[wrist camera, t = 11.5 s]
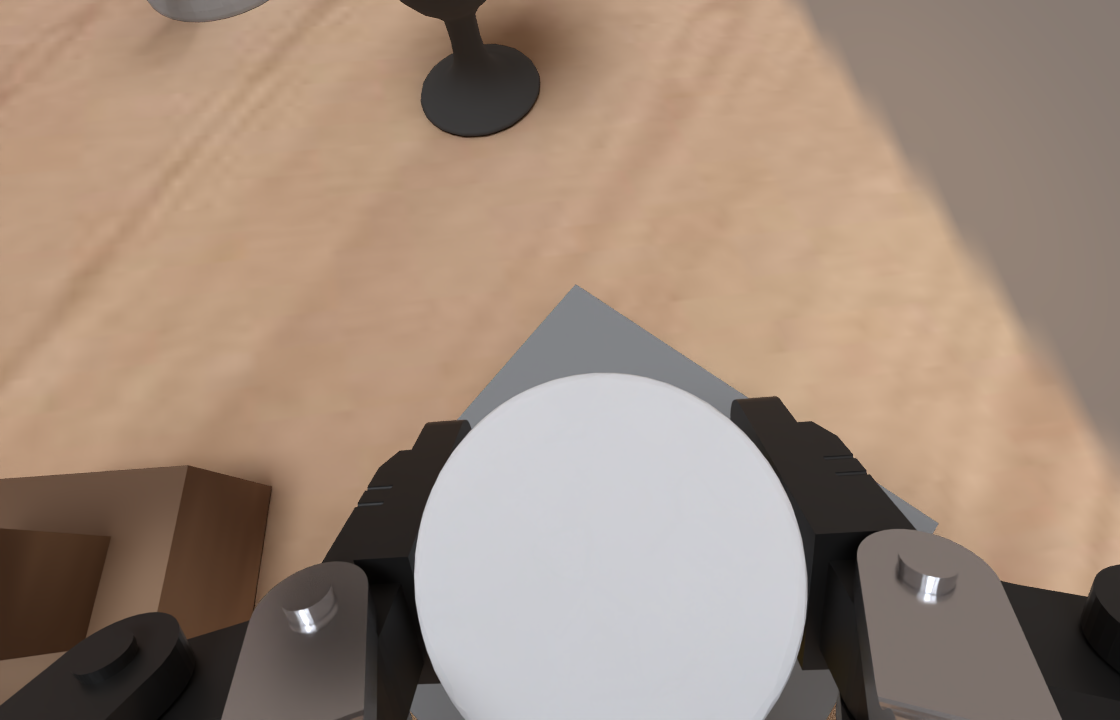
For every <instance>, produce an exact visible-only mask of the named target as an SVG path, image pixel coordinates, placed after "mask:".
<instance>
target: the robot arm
mask: <svg viewBox="0 0 1120 720" xmlns="http://www.w3.org/2000/svg"><path fill="white" fill-rule="evenodd" d="M730 420H731V421H732V422H733V423H734V424H735V425H737V426H738V427H739V428H740V429H741V430H742V431H743V432H744V433H745V434H746V435H747V436H748V437H749V439H750V440H751V441H752V442H753V443H754V444H755V445H756V447H757V448H758V449H759V450H760V452H761V453H762V454H763V456H764V457H765V458H766V459H767V461H768V462H769V464H770V465H771V467H772V469H773V470H774V472H775V473H776V475H777V477H778V478H779V480H780V482H781V484H782V486H783V488H784V490H785V492H786V494H787V496H788V498H789V501H790V503H791V505H792V508H793V511H794V514H795V517H796V520H797V523H798V527H799V530H800V534H801V537H802V542H803V548H804V555H805V561H806V569H807V610H806V620H805V626H804V632H803V637H802V641H801V645H800V649H799V652H798V656H797V659H798V662H799V664H800V666H801V669H802V670H828V669H829V670H830V672H831V674H832V677H833V679H834V681H835V683H836V685H837V687H838V695H837V703H836V720H1120V565H1115V566H1110V567H1108V568H1105V569H1103V570H1101V571H1100V572H1099V573H1098V574H1097V575H1096V577H1095V579H1094V582H1093V584H1092V587H1091V590H1090V593H1089V595H1088V597H1086V596H1080V595H1074V594H1068V593H1063V592H1057V591H1051V590H1045V589H1039V588H1034V587H1028V586H1022V585H1017V584H1012V583H1007V582H1003V581H1000V580H999V578H998V576H997V575H996V573H995V572H994V571H993V570H992V569H991V567H990V566H989V565H988V564H986V563H985V562H984V561H983V560H982V559H981V558H980V557H978V556H977V555H975V554H974V553H973V552H971V551H970V550H968V549H966V548H964V547H963V546H961V545H959V544H957V543H955V542H953V541H951V540H948V539H945V538H943V537H940V536H937V535H934V534H930V533H927V532H922V531H917V530H916V528H915V527H914V526H913V525H912V524H911V523H910V521H909V520H908V519H907V518H906V517H905V515H904V514H903V513H902V512H901V511H900V510H899V508H898V507H897V506H896V505H895V504H894V502H893V501H892V500H891V499H890V498H889V497H888V495H887V494H886V493H885V492H884V491H883V489H882V488H881V487H880V486H879V485H878V484H877V482H876V481H875V480H874V479H873V478H872V476H871V475H870V474H869V475H867V473H866V469H865V468H864V467H863V466H862V465H861V463H860V462H859V461H858V460H857V459H856V458H853V454H852V453H851V452H850V450H849V449H848V448H847V447H846V446H845V445H844V443H843V442H842V441H841V440H840V439H839V437H838V436H836V435H835V434H833V433H831V432H829V431H828V430H826V429H824V428H822V427H821V426H819V425H817V424H816V423H814V422H812V421H809V422H797V421H796V420H795V419H794V417H793V416H792V415H791V413H790V412H789V411H788V409H787V408H786V407H785V405H784V404H783V403H782V401H781V400H780V399H779V398H778V397H776V396H773V397H760V398H747V399H734V400H733V401H732V404H731V412H730ZM471 430H472V429H471V426H470V423H469V422H468V420H453V421H440V422H428V423H426V424H425V426H424V428H423V429H422V431H421V433H420V435H419V437H418V439H417V441H416V443H415V444H414V446H413V448H412V450H404V451H399V452H398V453H396V454H395V455H394V456H393V457H392V458H390V459H389V460H388V461H387V462H385V463H384V464H383V465H382V466H381V467H379V469H378V470H377V472H376V474H375V475H374V477H373V479H372V480H371V482H370V484H369V485H368V490H367V491H365V492H364V494H363V495H362V497H361V499H360V500H359V502H358V507H355V508H354V510H353V512H352V513H351V515H350V517H349V518H348V520H347V522H346V523H345V525H344V527H343V528H342V530H341V532H340V533H339V535H338V537H337V538H336V540H335V542H334V543H333V545H332V547H331V548H330V550H329V552H328V553H327V555H326V557H325V558H324V560H323V562H322V563H321V564H317V565H314V566H311V567H308V568H305V569H303V570H301V571H298V572H296V573H295V574H293V575H291V576H289V577H287V578H286V579H284V580H283V581H281V582H280V583H279V584H277V585H276V586H275V587H274V588H272V589H271V590H270V591H269V592H268V593H267V594H266V595H265V596H264V597H263V598H262V600H261V601H260V602H259V603H258V605H257V606H256V608H255V610H254V611H253V613H252V616H251V618H250V620H249V621H246V622H243V623H239V624H236V625H233V626H230V627H226V628H223V629H220V630H216V631H213V632H210V633H207V634H203V635H200V636H197V637H193V638H190V639H187V638H186V636H185V634H184V632H183V631H182V629H181V627H180V625H179V623H178V621H177V619H176V618H175V617H173V616H172V615H170V614H167V613H162V612H149V613H143V614H138V615H135V616H131V617H128V618H125V619H122V620H120V621H117V622H115V623H113V624H111V625H108V626H106V627H104V628H102V629H101V630H99V631H97V632H95V633H93V634H92V635H90V636H89V637H87V638H85V639H84V640H82V641H81V642H79V643H78V644H77V645H75V646H74V647H73V648H71V649H70V650H69V651H67V652H66V653H65V654H64V655H62V656H61V657H60V658H59V659H57V660H56V661H55V662H54V663H52V664H51V665H50V666H49V667H47V668H46V669H45V670H44V671H42V672H41V673H40V674H39V675H37V676H36V677H35V678H34V679H33V680H31V681H30V682H29V683H28V684H26V685H25V686H24V687H23V688H21V689H20V690H19V691H18V692H16V693H15V694H14V695H13V696H11V697H10V698H9V699H8V700H6V701H5V702H4V703H3V704H1V705H0V720H412V717H411V714H410V709H411V705H412V702H413V698H414V695H415V692H416V688H417V685H418V684H441V682H440V680H439V678H438V676H437V675H436V673H435V671H434V668H433V666H432V663H431V660H430V658H429V655H428V653H427V650H426V647H425V643H424V640H423V636H422V632H421V628H420V623H419V619H418V613H417V607H416V601H415V584H414V569H415V552H416V545H417V539H418V533H419V528H420V524H421V520H422V516H423V512H424V509H425V506H426V503H427V500H428V498H429V495H430V493H431V490H432V488H433V486H434V484H435V482H436V480H437V478H438V476H439V473H440V471H441V470H442V468H443V467H444V465H445V463H446V462H447V460H448V459H449V457H450V455H451V454H452V452H453V451H454V450H455V448H456V447H457V446H458V445H459V444H460V442H461V441H462V440H463V439H464V438H465V436H466V435H467V434H468V433H469V432H470V431H471Z"/></svg>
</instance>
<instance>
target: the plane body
mask: <svg viewBox="0 0 1120 720" xmlns="http://www.w3.org/2000/svg"><path fill="white" fill-rule="evenodd" d="M270 493H271V486H267V485H263V484H259V483H255V482H251V481H247V480H244V479H240V478H236V477H232V476H228V475H224V474H220V473H216V472H212V471H208V470H204V469H200V468H196V467H192V466H188V465H187V466H173V467H159V468H146V469H132V470H118V471H105V472H91V473H77V474H63V475H50V476H36V477H22V478H9V479H0V705H1V704H3V703H4V702H5V701H6V700H8V699H9V698H10V697H11V696H13V695H14V694H15V693H16V692H18V691H19V690H20V689H21V688H23V687H24V686H25V685H26V684H28V683H29V682H30V681H31V680H33V679H34V678H35V677H36V676H37V675H39V674H40V673H41V672H42V671H44V670H45V669H46V668H47V667H49V666H50V665H51V664H52V663H54V662H55V661H56V660H57V659H59V658H60V657H61V656H62V655H64V654H65V653H66V652H67V651H69V650H70V649H71V648H73V647H74V646H75V645H77V644H78V643H79V642H81V641H82V640H84V639H85V638H87V637H89V636H90V635H92V634H93V633H95V632H97V631H99V630H101V629H102V628H104V627H106V626H108V625H111V624H113V623H115V622H117V621H120V620H122V619H125V618H128V617H131V616H135V615H138V614H143V613H149V612H162V613H167V614H170V615H172V616H173V617H175V618H176V619H177V621H178V623H179V625H180V627H181V629H182V631H183V632H184V634H185V636H186V638H187V639H190V638H193V637H197V636H200V635H203V634H207V633H210V632H213V631H216V630H220V629H223V628H226V627H230V626H233V625H236V624H239V623H243V622H246V621H249V620H250V618H251V616H252V613H253V607H254V600H255V594H256V587H257V580H258V574H259V567H260V560H261V554H262V547H263V540H264V534H265V527H266V520H267V513H268V507H269V500H270Z"/></svg>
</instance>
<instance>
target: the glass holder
mask: <svg viewBox="0 0 1120 720" xmlns="http://www.w3.org/2000/svg"><path fill="white" fill-rule="evenodd" d="M147 1H148V2H149V3H150V5H151V6H152V7H153V8H154V9H155V10H156V11H158V12H159V13H160V14H162V15H164V16H166V17H169V18H171V19H175V20H180V21H185V22H205V21H215V20H219V19H224V18H228V17H232V16H235V15H238V14H241V13H244V12H246V11H248V10H251V9H253V8H255V7H257V6H259V5H261V4H263V3H265V2H266V1H268V0H147Z"/></svg>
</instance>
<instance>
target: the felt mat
mask: <svg viewBox="0 0 1120 720" xmlns="http://www.w3.org/2000/svg"><path fill="white" fill-rule="evenodd" d="M588 373H623V374H631V375H637V376H642V377H647V378H651V379H654V380H658V381H661V382H665V383H668V384H671V385H673V386H675V387H677V388H680V389H682V390H684V391H686V392H688V393H690V394H692V395H694V396H696V397H698V398H700V399H702V400H703V401H705V402H707V403H709V404H710V405H711V406H713V407H714V408H716V409H717V410H718V411H720V412H721V413H722V414H724V415H725V416H726V417H727V418H729V419H730V412H731V404H732V401H733V400H734V399H747V397H746V396H744V395H743V394H741V393H740V392H738V391H737V390H735V389H734V388H732V387H731V386H729V385H728V384H726V383H725V382H723V381H722V380H720V379H719V378H717V377H716V376H714V375H712V374H711V373H709V372H708V371H706V370H705V369H703V368H702V367H700V366H699V365H697V364H696V363H694V362H693V361H691V360H690V359H688V358H687V357H685V356H684V355H682V354H681V353H679V352H678V351H676V350H675V349H673V348H672V347H670V346H668V345H667V344H665V343H664V342H662V341H661V340H659V339H658V338H656V337H655V336H653V335H652V334H650V333H649V332H647V331H646V330H644V329H643V328H641V327H640V326H638V325H637V324H635V323H634V322H632V321H631V320H629V319H628V318H626V317H624V316H623V315H621V314H620V313H618V312H617V311H615V310H614V309H612V308H611V307H609V306H608V305H606V304H605V303H603V302H602V301H600V300H599V299H597V298H596V297H594V296H593V295H591V294H590V293H588V292H587V291H585V290H584V289H582V288H580V287H579V286H577V285H576V284H575V286H574V287H573V288H572V289H571V290H570V291H569V292H568V294H567V295H566V296H565V297H564V298H563V299H562V300H561V302H560V303H559V304H558V305H557V306H556V307H555V308H554V310H553V311H552V312H551V313H550V314H549V315H548V316H547V318H546V319H545V320H544V321H543V322H542V323H541V324H540V326H539V327H538V328H537V329H536V330H535V331H534V333H533V334H532V335H531V336H530V337H529V338H528V339H527V341H526V342H525V343H524V344H523V345H522V346H521V347H520V349H519V350H518V351H517V352H516V353H515V354H514V355H513V357H512V358H511V359H510V360H509V361H508V362H507V363H506V365H505V366H504V367H503V368H502V369H501V370H500V371H499V373H498V374H497V375H496V376H495V377H494V378H493V379H492V381H491V382H490V383H489V384H488V385H487V386H486V387H485V389H484V390H483V391H482V392H481V393H480V394H479V395H478V397H477V398H476V399H475V400H474V401H473V402H472V403H471V405H470V406H469V407H468V408H467V409H466V410H465V411H464V413H463V414H462V415H461V416H460V417H459V418H458V419H457V420H468V422H469V423H470V426H471V429H473V428H474V427H475V426H476V425H477V424H478V423H479V422H480V421H481V420H482V419H483V418H485V417H486V416H487V415H488V414H489V413H490V412H492V411H493V410H494V409H495V408H497V407H498V406H500V405H501V404H503V403H504V402H506V401H507V400H509V399H511V398H512V397H514V396H516V395H518V394H520V393H522V392H524V391H526V390H528V389H530V388H533V387H535V386H538V385H540V384H543V383H546V382H548V381H551V380H555V379H559V378H564V377H568V376H572V375H579V374H588ZM877 484H878V483H877ZM878 485H879V484H878ZM879 486H880V487H881V488H882V489H883V491H884V492H885V493H886V494H887V495H888V497H889V498H890V499H891V500H892V501H893V502H894V504H895V505H896V506H897V507H898V508H899V510H900V511H901V512H902V513H903V514H904V515H905V517H906V518H907V519H908V520H909V521H910V523H911V524H912V525H913V526H914V527H915V528H916V530H917V531H922V532H927V533H930V534H933V532H934V531H935V529H936V527H937V525H938V524H939V523H937V522H936V521H934V520H932V519H931V518H929V517H928V516H926V515H925V514H923V513H922V512H920V511H919V510H917V509H916V508H914V507H913V506H911V505H910V504H908V503H907V502H905V501H904V500H902V499H901V498H899V497H898V496H896V495H895V494H893V493H892V492H890V491H888V490H887V489H885V488H884V487H882V486H881V485H879ZM837 695H838V687H837V685H836V683H835V681H834V679H833V677H832V674H831V672H830V670H829V669H828V670H802V669H801V666H800V664H799V662H798V659H796V662H795V665H794V667H793V670H792V672H791V675H790V677H789V680H788V681H787V683H786V685H785V687H784V689H783V691H782V693H781V695H780V697H779V699H778V700H777V702H776V703H775V705H774V706H773V708H772V709H771V711H770V712H769V714H768V715H767V717H766V718H765V720H826V719H827V717H828V716H829V714H830V712H831V710H832V709H833V707H834V705H835V703H836V702H837ZM410 711H411V712H412V714H413V715H414V716H415V717H416V718H417V719H418V720H465V719H464V718H463V716H462V715H461V714H460V712H459V711H458V710H457V708H456V707H455V706H454V704H453V703H452V702H451V700H450V698H449V696H448V695H447V693H446V691H445V689H444V688H443V686H442V684H418V685H417V688H416V692H415V695H414V698H413V702H412V705H411V709H410Z"/></svg>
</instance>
